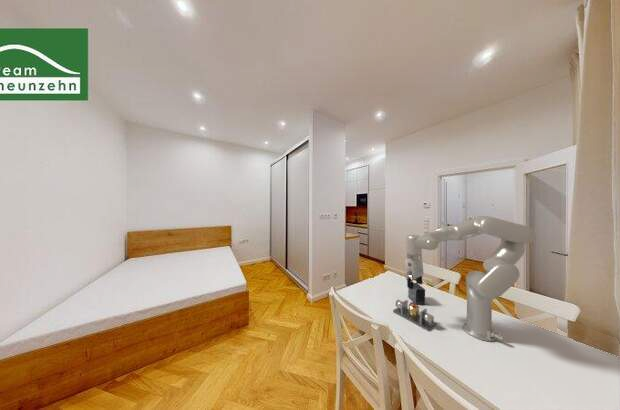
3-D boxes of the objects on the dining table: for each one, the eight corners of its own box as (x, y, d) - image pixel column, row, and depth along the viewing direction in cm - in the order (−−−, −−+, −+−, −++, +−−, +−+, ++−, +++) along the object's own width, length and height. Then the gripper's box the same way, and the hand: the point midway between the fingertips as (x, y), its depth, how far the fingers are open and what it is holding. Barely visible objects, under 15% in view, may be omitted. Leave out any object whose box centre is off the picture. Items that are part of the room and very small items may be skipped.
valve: (420, 316, 108) (420, 304, 108) (415, 320, 105) (416, 307, 105) (411, 312, 112) (411, 300, 112) (406, 315, 110) (407, 303, 109)
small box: (425, 305, 123) (425, 289, 122) (415, 305, 123) (415, 289, 123) (416, 297, 133) (417, 282, 133) (407, 296, 133) (407, 282, 133)
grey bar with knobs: (436, 324, 103) (436, 311, 103) (428, 330, 98) (428, 317, 98) (401, 307, 120) (401, 296, 120) (393, 312, 115) (393, 300, 115)
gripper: (412, 260, 100) (413, 292, 100) (428, 255, 110) (429, 284, 110) (399, 257, 107) (400, 287, 107) (415, 252, 116) (416, 280, 116)
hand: (414, 285), depth 108 cm, fingers open, 9 cm apart
